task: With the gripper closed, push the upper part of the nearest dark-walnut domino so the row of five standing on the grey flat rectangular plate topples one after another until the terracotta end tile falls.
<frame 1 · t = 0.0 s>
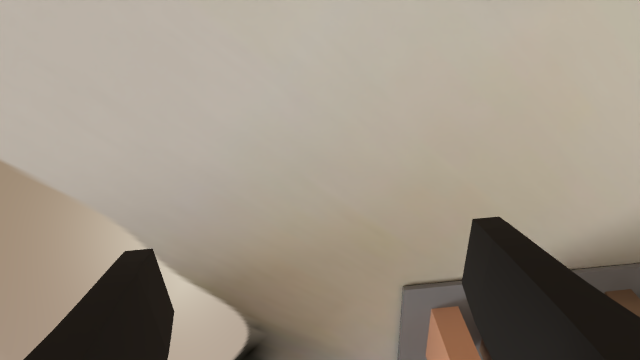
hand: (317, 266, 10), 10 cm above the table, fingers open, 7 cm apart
grey flat rectangular plate: (549, 316, 28), on the table
terracotta tile: (441, 331, 28), resting on grey flat rectangular plate
tile2 walnut: (607, 314, 28), resting on grey flat rectangular plate
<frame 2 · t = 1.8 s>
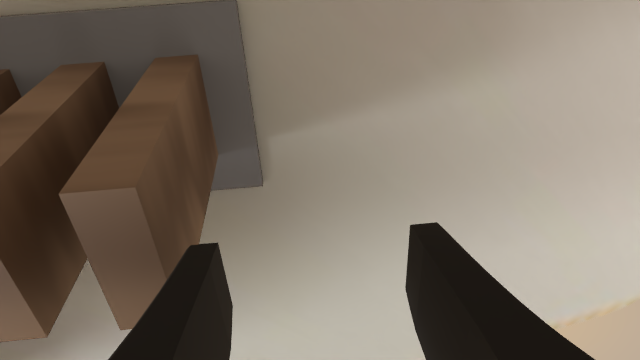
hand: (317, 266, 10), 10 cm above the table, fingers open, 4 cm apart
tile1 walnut: (188, 109, 18), resting on grey flat rectangular plate
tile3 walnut: (12, 123, 18), resting on grey flat rectangular plate
grey flat rectangular plate: (16, 120, 18), on the table
tile2 walnut: (101, 116, 18), resting on grey flat rectangular plate
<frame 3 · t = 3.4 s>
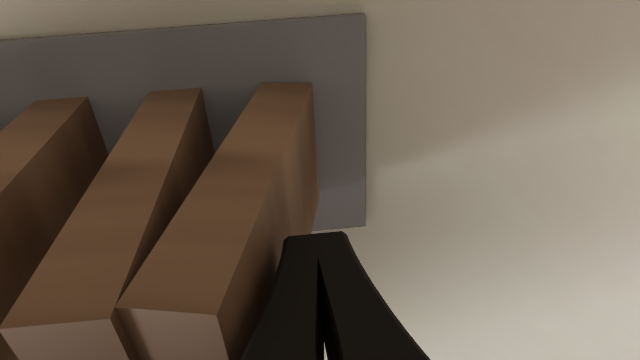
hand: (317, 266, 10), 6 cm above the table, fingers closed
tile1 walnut: (292, 144, 15), resting on grey flat rectangular plate, tilted 12°, touching gripper
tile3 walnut: (85, 159, 15), resting on grey flat rectangular plate
grey flat rectangular plate: (88, 155, 15), on the table
tile2 walnut: (190, 150, 15), resting on grey flat rectangular plate
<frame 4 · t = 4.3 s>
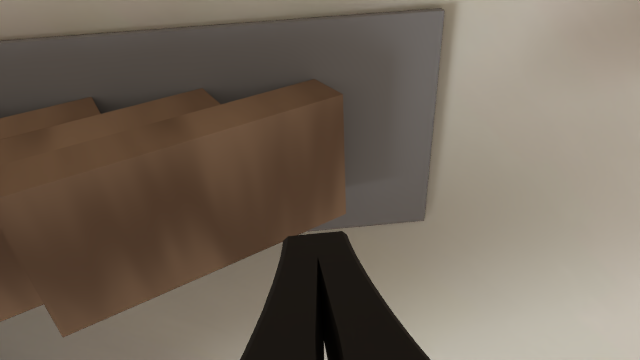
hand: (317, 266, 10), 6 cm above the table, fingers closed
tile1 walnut: (330, 149, 15), point 1 cm above the table, tilted 63°, touching grey flat rectangular plate, tile2 walnut
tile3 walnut: (117, 167, 15), point 1 cm above the table, tilted 63°, touching grey flat rectangular plate, tile2 walnut, tile4 walnut
grey flat rectangular plate: (159, 149, 16), on the table
tile2 walnut: (223, 158, 15), point 1 cm above the table, tilted 63°, touching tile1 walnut, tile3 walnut
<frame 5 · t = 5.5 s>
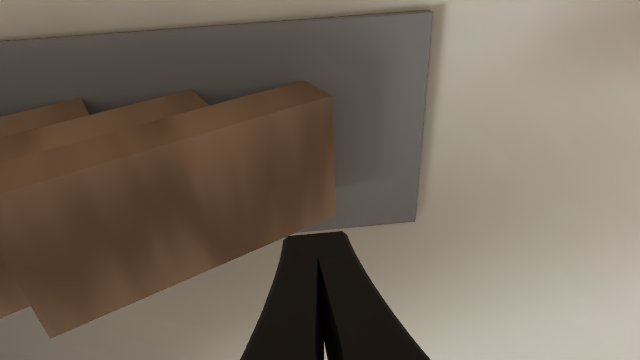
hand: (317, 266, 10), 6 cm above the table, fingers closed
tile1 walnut: (320, 150, 15), point 1 cm above the table, tilted 63°, touching grey flat rectangular plate, tile2 walnut
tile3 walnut: (107, 168, 15), point 1 cm above the table, tilted 63°, touching grey flat rectangular plate, tile2 walnut, tile4 walnut
grey flat rectangular plate: (149, 150, 16), on the table
tile2 walnut: (213, 159, 15), point 1 cm above the table, tilted 63°, touching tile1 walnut, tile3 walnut
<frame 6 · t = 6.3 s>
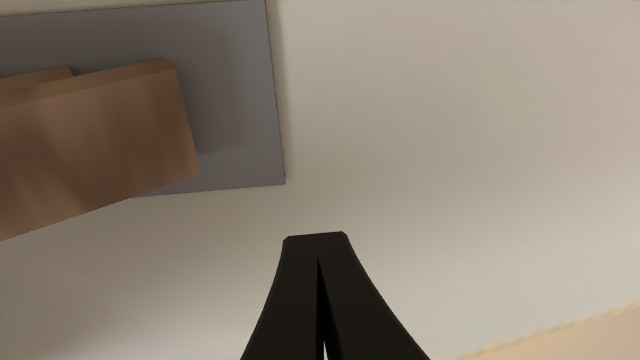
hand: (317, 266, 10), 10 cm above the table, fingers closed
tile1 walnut: (183, 117, 18), point 1 cm above the table, tilted 63°, touching grey flat rectangular plate, tile2 walnut
grey flat rectangular plate: (41, 118, 18), on the table
tile2 walnut: (91, 125, 17), point 1 cm above the table, tilted 63°, touching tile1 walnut, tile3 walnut
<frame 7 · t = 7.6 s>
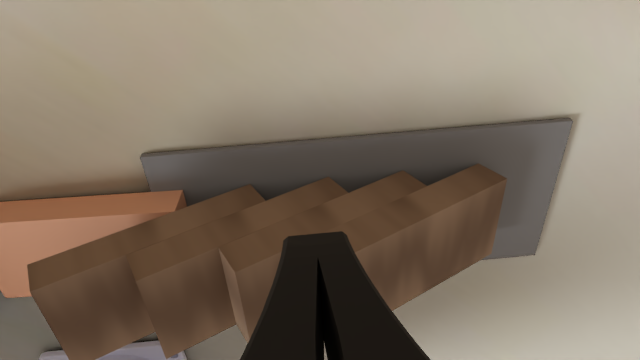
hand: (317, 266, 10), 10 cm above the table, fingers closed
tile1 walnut: (485, 209, 21), point 1 cm above the table, tilted 63°, touching grey flat rectangular plate, tile2 walnut
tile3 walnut: (339, 223, 21), point 1 cm above the table, tilted 63°, touching grey flat rectangular plate, tile2 walnut, tile4 walnut
tile4 walnut: (263, 230, 21), point 1 cm above the table, tilted 63°, touching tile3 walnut, terracotta tile
grey flat rectangular plate: (359, 208, 22), on the table
terracotta tile: (189, 238, 21), point 1 cm above the table, tilted 92°, touching grey flat rectangular plate, tile4 walnut
tile2 walnut: (411, 216, 21), point 1 cm above the table, tilted 63°, touching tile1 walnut, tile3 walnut
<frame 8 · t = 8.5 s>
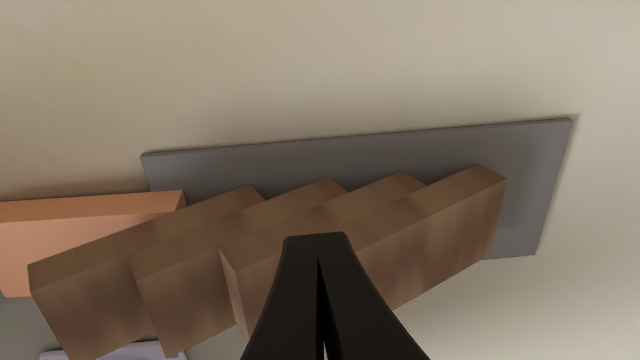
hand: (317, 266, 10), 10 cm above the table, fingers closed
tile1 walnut: (485, 209, 21), point 1 cm above the table, tilted 63°, touching grey flat rectangular plate, tile2 walnut
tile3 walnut: (339, 223, 21), point 1 cm above the table, tilted 63°, touching grey flat rectangular plate, tile2 walnut, tile4 walnut
tile4 walnut: (263, 230, 21), point 1 cm above the table, tilted 63°, touching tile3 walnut, terracotta tile
grey flat rectangular plate: (359, 208, 22), on the table
terracotta tile: (189, 238, 21), point 1 cm above the table, tilted 92°, touching grey flat rectangular plate, tile4 walnut
tile2 walnut: (411, 216, 21), point 1 cm above the table, tilted 63°, touching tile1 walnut, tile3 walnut
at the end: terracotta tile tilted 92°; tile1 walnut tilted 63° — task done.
